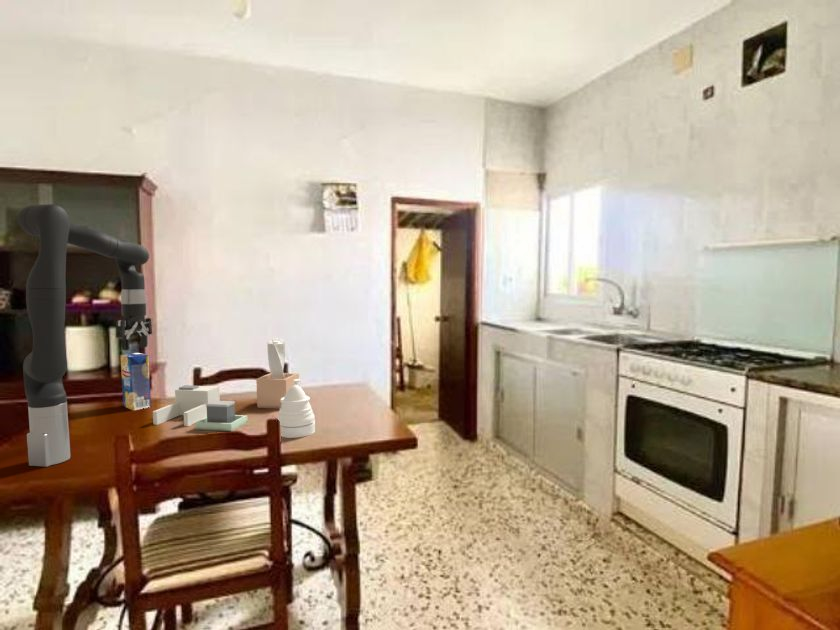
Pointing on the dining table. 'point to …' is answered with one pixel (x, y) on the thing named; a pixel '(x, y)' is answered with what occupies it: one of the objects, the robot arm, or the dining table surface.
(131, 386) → the beverage box
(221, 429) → the tray
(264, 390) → the open tan box
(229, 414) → the grey gripped cube
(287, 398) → the honey pot
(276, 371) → the skyscraper
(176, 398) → the white dispenser chute
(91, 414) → the dining table surface
